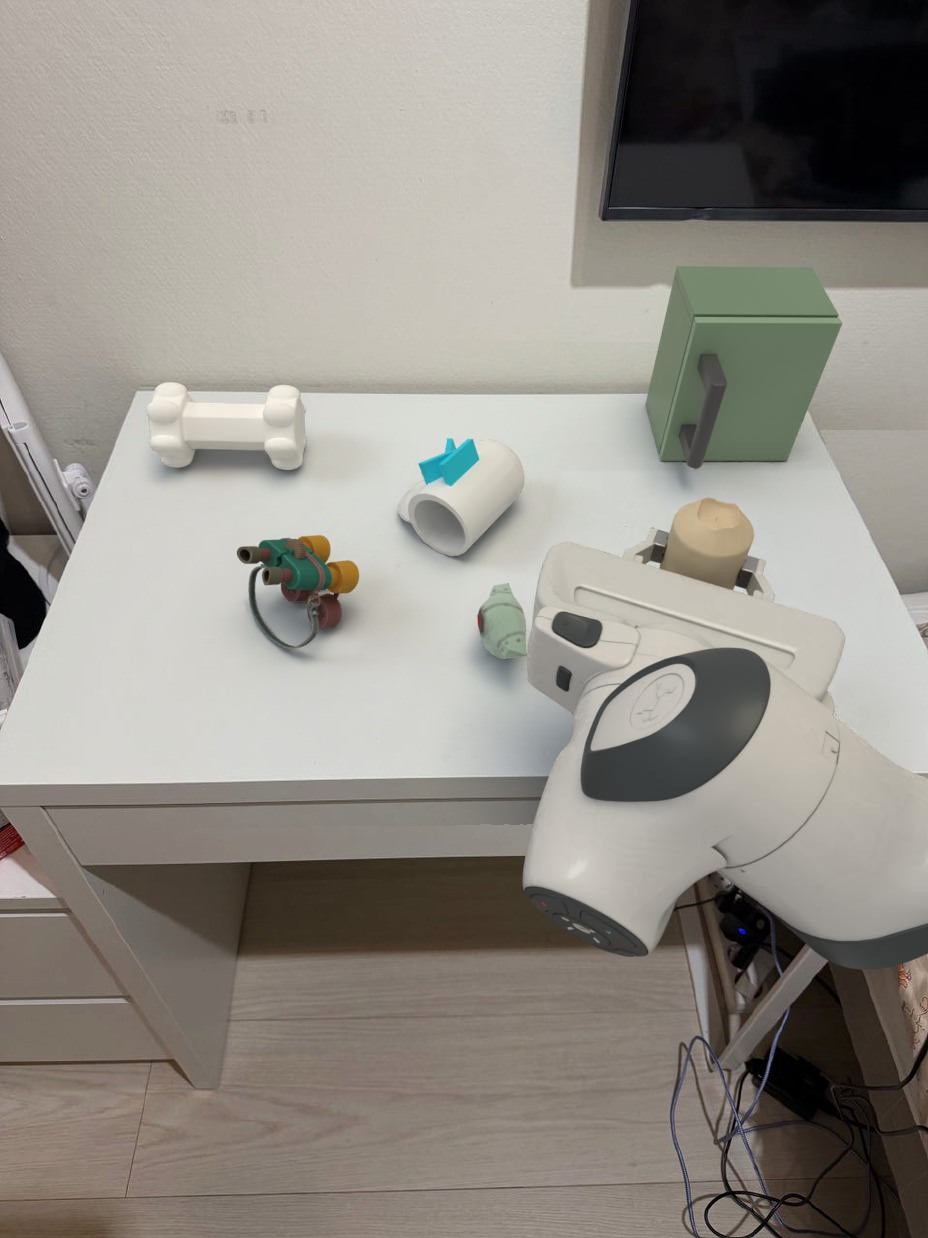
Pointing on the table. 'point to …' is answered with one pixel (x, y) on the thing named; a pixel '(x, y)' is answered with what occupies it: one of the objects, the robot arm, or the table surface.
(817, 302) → the cabinet
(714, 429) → the door
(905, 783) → the robot arm
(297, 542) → the binoculars
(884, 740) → the table surface
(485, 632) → the robot head
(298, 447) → the dog bone
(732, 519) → the candle
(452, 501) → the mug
